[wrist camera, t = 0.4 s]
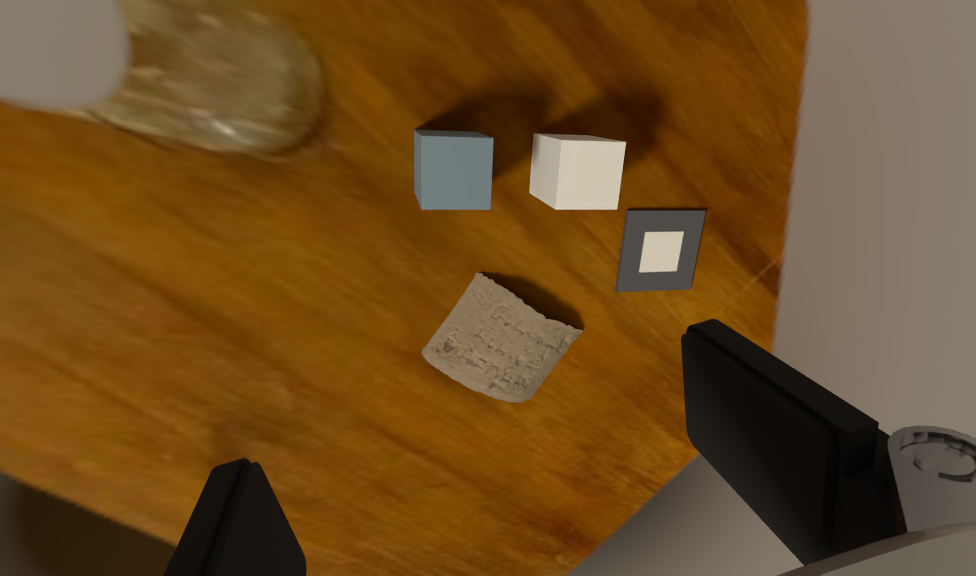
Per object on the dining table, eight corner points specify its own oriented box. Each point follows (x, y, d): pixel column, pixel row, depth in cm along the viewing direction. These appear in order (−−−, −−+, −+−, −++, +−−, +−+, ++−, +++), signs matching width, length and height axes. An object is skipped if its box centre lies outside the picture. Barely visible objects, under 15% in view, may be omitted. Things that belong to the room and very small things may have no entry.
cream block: (533, 133, 42) (561, 140, 36) (589, 135, 43) (626, 142, 37) (529, 192, 44) (555, 209, 37) (582, 193, 45) (617, 209, 38)
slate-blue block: (414, 129, 40) (421, 135, 33) (475, 131, 41) (493, 138, 34) (414, 192, 42) (421, 209, 35) (473, 192, 43) (490, 209, 36)
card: (626, 209, 46) (629, 211, 46) (703, 209, 48) (706, 210, 47) (615, 290, 49) (617, 292, 48) (688, 287, 51) (690, 289, 50)
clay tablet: (586, 328, 50) (596, 340, 48) (531, 405, 53) (539, 420, 50) (467, 262, 45) (472, 272, 43) (411, 350, 47) (413, 364, 45)
